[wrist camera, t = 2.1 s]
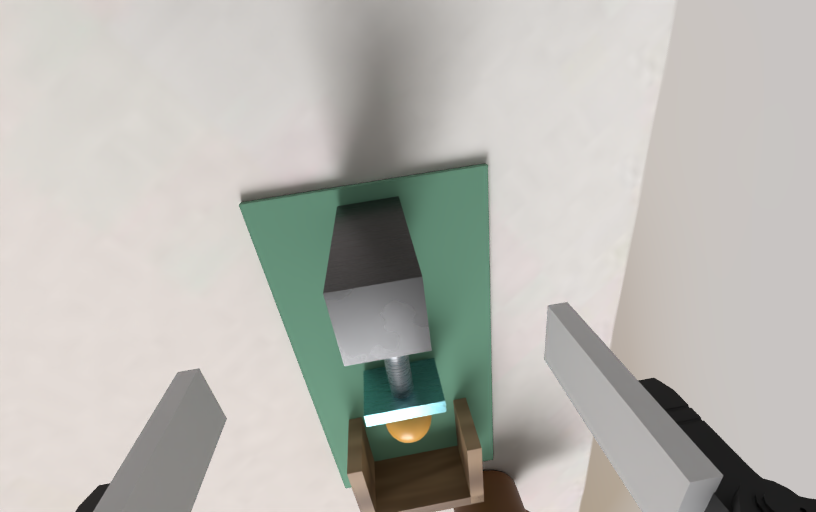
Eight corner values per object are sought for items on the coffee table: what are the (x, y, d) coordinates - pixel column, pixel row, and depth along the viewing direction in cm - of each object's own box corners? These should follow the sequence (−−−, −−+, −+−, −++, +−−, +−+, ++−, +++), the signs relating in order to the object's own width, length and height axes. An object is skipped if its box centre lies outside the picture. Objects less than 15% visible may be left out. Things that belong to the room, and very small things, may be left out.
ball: (380, 386, 31) (382, 426, 28) (425, 378, 31) (433, 417, 28) (387, 416, 33) (390, 457, 30) (429, 408, 33) (437, 448, 30)
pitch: (241, 202, 23) (238, 204, 22) (485, 163, 24) (487, 165, 23) (345, 483, 38) (345, 488, 38) (491, 454, 39) (493, 459, 38)
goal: (348, 419, 33) (346, 474, 28) (465, 397, 33) (481, 447, 29) (364, 470, 37) (365, 525, 32) (469, 450, 37) (484, 501, 33)
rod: (321, 208, 23) (297, 297, 14) (413, 193, 23) (446, 272, 14) (365, 379, 30) (368, 507, 22) (435, 367, 31) (465, 488, 22)
